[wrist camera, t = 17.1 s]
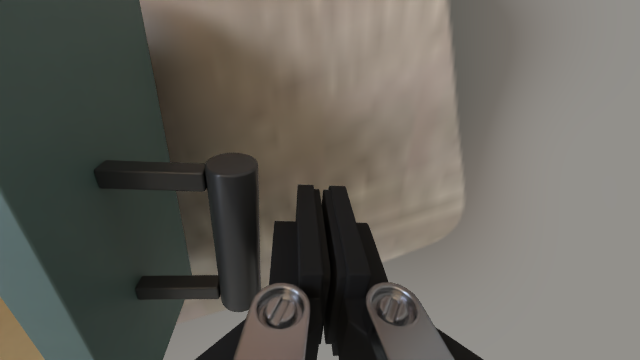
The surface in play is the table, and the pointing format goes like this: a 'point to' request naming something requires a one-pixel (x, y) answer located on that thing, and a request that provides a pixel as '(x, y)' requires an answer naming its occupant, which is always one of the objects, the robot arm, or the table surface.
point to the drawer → (102, 192)
